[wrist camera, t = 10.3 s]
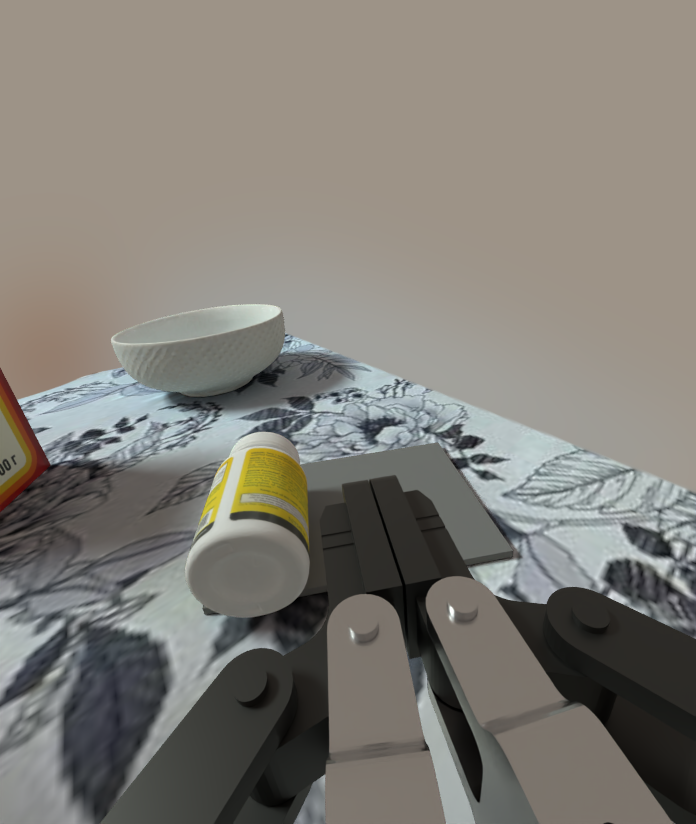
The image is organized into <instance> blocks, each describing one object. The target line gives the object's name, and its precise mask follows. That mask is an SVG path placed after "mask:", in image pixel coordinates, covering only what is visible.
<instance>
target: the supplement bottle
mask: <svg viewBox="0 0 696 824" xmlns="http://www.w3.org/2000/svg"><path fill="white" fill-rule="evenodd" d="M309 566H310V556H309V525H308V493H307V480H306V476H305V473H304V470H303V468H302V467H301V465H300V459H299V455H298V452H297V450H296V448H295V447H294V445H293V444H292V443H291V442H290V441H289V440H288V439H286V438H285V437H283V436H281V435H278V434H275V433H270V432H257V433H253V434H250V435H247V436H245V437H243V438H242V439H241V440H239V441H238V442H237V443H236V444H235V446H234V447H233V449H232V451H231V453H230V456H229V457H228V458H227V459H226V460H225V461H224V462H223V463H222V464H221V466H220V467H219V469H218V471H217V473H216V475H215V478H214V480H213V484H212V487H211V489H210V492H209V495H208V498H207V501H206V504H205V507H204V510H203V513H202V516H201V519H200V522H199V525H198V528H197V531H196V534H195V537H194V540H193V543H192V545H191V548H190V552H189V555H188V558H187V561H186V566H185V578H186V582H187V585H188V587H189V589H190V591H191V592H192V594H193V595H194V597H195V598H196V599H197V600H198V601H199V602H200V603H202V604H203V605H204V606H206V607H207V608H209V609H211V610H213V611H215V612H217V613H220V614H223V615H227V616H232V617H242V618H246V617H256V616H261V615H266V614H269V613H273V612H276V611H278V610H280V609H282V608H284V607H286V606H288V605H289V604H291V603H292V602H293V601H294V600H295V599H296V598H297V597H298V596H299V595H300V594H301V592H302V591H303V589H304V587H305V585H306V583H307V580H308V576H309Z"/></svg>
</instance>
